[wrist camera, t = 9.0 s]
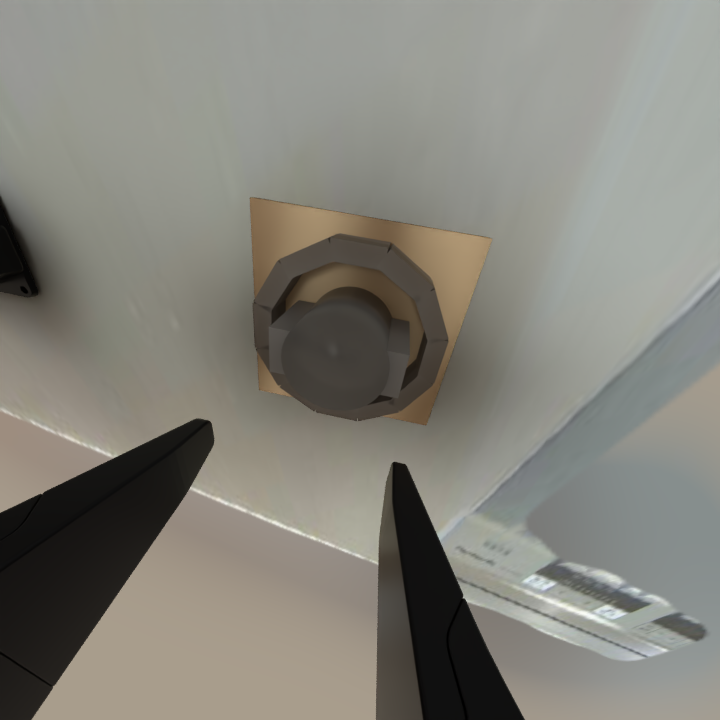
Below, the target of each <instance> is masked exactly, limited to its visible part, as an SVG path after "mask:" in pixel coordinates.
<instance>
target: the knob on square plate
mask: <svg viewBox="0 0 720 720" xmlns="http://www.w3.org/2000/svg"><path fill="white" fill-rule="evenodd" d="M250 211H251V232H252V253H253V273H254V294H255V299H254V303H253V319H254V338H255V347H256V348H257V349H256V351H257V356H258V377H259V390H261V391H266V392H271V393H276V394H280V395H285V396H290V397H294V398H295V399H297V400H298V401H300V402H301V403H303V404H304V405H306V406H307V407H308V408H310V409H311V410H313V411H315V410H316V412H317V413H322V414H327V415H331V416H336V417H341V418H345V419H350V420H355V421H357V419H358V421H361V420H365V419H370V418H375V417H380V416H384V417H389V418H394V419H398V420H403V421H408V422H412V423H417V424H422V425H427V422H428V419H429V416H430V413H431V411H432V408H433V405H434V402H435V399H436V396H437V394H438V391H439V388H440V385H441V382H442V380H443V377H444V374H445V371H446V368H447V365H448V363H449V360H450V357H451V354H452V351H453V349H454V346H455V343H456V340H457V337H458V334H459V332H460V329H461V326H462V323H463V320H464V318H465V315H466V312H467V309H468V306H469V303H470V301H471V298H472V295H473V292H474V289H475V286H476V284H477V281H478V278H479V275H480V272H481V270H482V267H483V264H484V261H485V258H486V255H487V253H488V250H489V247H490V244H491V241H492V239H491V238H488V237H482V236H476V235H471V234H465V233H459V232H453V231H447V230H441V229H436V228H430V227H424V226H418V225H412V224H406V223H401V222H395V221H389V220H383V219H377V218H371V217H366V216H360V215H354V214H348V213H342V212H336V211H331V210H325V209H319V208H313V207H307V206H301V205H295V204H290V203H284V202H278V201H272V200H266V199H260V198H250ZM346 286H352V287H359V288H362V289H365V290H368V291H370V292H371V293H373V294H375V295H376V296H377V297H379V298H380V299H381V300H382V301H383V302H384V304H385V305H386V306H387V308H388V309H389V311H390V314H391V316H392V318H394V319H399V320H404V321H409V325H410V357H409V360H408V364H407V368H406V371H405V375H404V379H403V382H402V386H401V390H400V393H399V397H398V398H393V397H389V396H384V395H379V396H378V397H377V398H376V399H375V400H374V401H372V402H371V403H369V404H368V405H366V406H363V407H361V408H358V409H354V410H345V411H340V410H331V409H326V408H323V407H320V406H317V405H315V404H313V403H311V402H310V401H308V400H306V399H305V398H304V397H302V396H301V395H300V394H299V393H298V392H297V391H296V390H295V389H294V388H293V387H292V386H291V384H290V383H289V381H288V380H287V378H286V376H285V375H284V374H279V373H274V372H270V365H269V326H270V325H272V324H273V323H274V322H275V321H276V320H277V319H278V318H279V317H280V316H282V315H283V314H284V313H285V312H286V311H287V310H288V309H289V308H290V307H292V306H293V305H294V304H295V303H296V302H297V301H298V300H301V301H306V302H311V303H316V302H317V301H318V300H319V299H320V298H321V297H322V296H323V295H324V294H326V293H327V292H329V291H331V290H333V289H336V288H339V287H346Z"/></svg>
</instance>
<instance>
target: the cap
mask: <svg viewBox="0 0 720 720" xmlns="http://www.w3.org/2000/svg"><path fill="white" fill-rule="evenodd" d="M409 357H410V325H409V321H404V320H399V319H394V318H392V316H391V314H390V311H389V309H388V308H387V306H386V305H385V304H384V302H383V301H382V300H381V299H380V298H379V297H377V296H376V295H375V294H373V293H371V292H370V291H368V290H365V289H362V288H359V287H352V286H346V287H339V288H336V289H333V290H331V291H329V292H327V293H326V294H324V295H323V296H322V297H321V298H320V299H319V300H318V301H317V302H316V303H311V302H306V301H301V300H298V301H297V302H296V303H295V304H294V305H293V306H292V307H290V308H289V309H288V310H287V311H286V312H285V313H284V314H283V315H282V316H280V317H279V318H278V319H277V320H276V321H275V322H274V323H273V324H272V325H270V326H269V365H270V372H274V373H279V374H284V375H285V376H286V378H287V380H288V381H289V383H290V384H291V386H292V387H293V388H294V389H295V390H296V391H297V392H298V393H299V394H300V395H301V396H302V397H304V398H305V399H306V400H308V401H310V402H311V403H313V404H315V405H317V406H320V407H323V408H326V409H331V410H340V411H345V410H354V409H358V408H361V407H363V406H366V405H368V404H369V403H371V402H372V401H374V400H375V399H376V398H377V397H378V396H379V395H384V396H389V397H393V398H398V397H399V393H400V390H401V386H402V382H403V379H404V375H405V371H406V368H407V364H408V360H409Z"/></svg>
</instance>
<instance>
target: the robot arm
mask: <svg viewBox="0 0 720 720" xmlns="http://www.w3.org/2000/svg"><path fill="white" fill-rule="evenodd" d="M0 292H4V293H9V294H14V295H19V296H24V297H33V296H37V295H38V289H37V287H36V285H35V282H34V280H33V278H32V276H31V273H30V271H29V269H28V267H27V264H26V262H25V260H24V258H23V255H22V253H21V251H20V249H19V246H18V244H17V242H16V240H15V237H14V235H13V233H12V231H11V229H10V226H9V224H8V222H7V220H6V217H5V215H4V213H3V211H2V208H1V206H0ZM213 445H214V434H213V428H212V423H211V422H210V421H208V420H204V419H199V418H198V419H194V420H192V421H190V422H188V423H186V424H184V425H182V426H180V427H178V428H175V429H173V430H171V431H169V432H167V433H165V434H163V435H161V436H159V437H157V438H155V439H153V440H151V441H149V442H147V443H144V444H142V445H140V446H138V447H136V448H134V449H132V450H130V451H128V452H126V453H124V454H122V455H120V456H118V457H116V458H113V459H111V460H110V461H107V462H105V463H103V464H101V465H99V466H97V467H95V468H93V469H91V470H89V471H87V472H85V473H82V474H80V475H78V476H76V477H74V478H72V479H70V480H68V481H66V482H64V483H62V484H60V485H58V486H56V487H53V488H51V489H49V490H47V491H45V492H44V493H43V494H39V495H37V496H35V497H33V498H31V499H28V500H26V501H24V502H22V503H20V504H18V505H16V506H14V507H12V508H10V509H8V510H5V511H3V512H1V513H0V720H31V719H32V718H33V717H34V715H35V714H36V712H37V711H38V709H39V708H40V706H41V705H42V703H43V702H44V701H45V699H46V698H47V696H48V695H49V693H50V691H51V690H52V689H53V686H54V685H55V684H56V683H57V681H58V680H59V678H60V677H61V676H62V674H63V673H64V671H65V670H66V668H67V667H68V665H69V664H70V662H71V661H72V660H73V658H74V657H75V655H76V654H77V652H78V651H79V649H80V648H81V646H82V645H83V644H84V642H85V641H86V639H87V638H88V636H89V635H90V633H91V632H92V630H93V629H94V628H95V626H96V625H97V623H98V622H99V620H100V619H101V617H102V616H103V614H104V613H105V611H106V610H107V609H108V607H109V606H110V604H111V603H112V601H113V600H114V598H115V597H116V596H117V594H118V593H119V591H120V590H121V588H122V587H123V585H124V584H125V583H126V581H127V580H128V578H129V577H130V575H131V574H132V572H133V571H134V570H135V568H136V567H137V565H138V564H139V562H140V561H141V559H142V558H143V556H144V555H145V553H146V552H147V551H148V549H149V548H150V546H151V545H152V543H153V542H154V540H155V539H156V537H157V536H158V535H159V533H160V532H161V530H162V529H163V527H164V526H165V524H166V523H167V521H168V520H169V519H170V517H171V516H172V514H173V513H174V511H175V510H176V509H177V507H178V506H179V504H180V503H181V501H182V500H183V498H184V497H185V495H186V493H187V492H188V490H189V489H190V487H191V485H192V483H193V482H194V480H195V478H196V476H197V474H198V473H199V471H200V469H201V467H202V465H203V463H204V462H205V460H206V458H207V456H208V454H209V453H210V451H211V449H212V447H213ZM378 568H379V569H378V628H377V689H376V720H525V719H524V717H523V716H522V714H521V712H520V710H519V708H518V706H517V704H516V702H515V700H514V699H513V697H512V695H511V693H510V691H509V689H508V687H507V686H506V684H505V681H504V679H503V678H502V676H501V674H500V672H499V670H498V668H497V666H496V664H495V662H494V660H493V658H492V656H491V654H490V652H489V650H488V648H487V646H486V644H485V642H484V639H483V637H482V635H481V633H480V631H479V629H478V627H477V624H476V622H475V620H474V618H473V615H472V613H471V611H470V609H469V606H468V604H467V602H466V600H465V599H464V598H463V593H462V591H461V588H460V586H459V584H458V581H457V579H456V577H455V575H454V572H453V570H452V568H451V566H450V563H449V561H448V559H447V556H446V554H445V552H444V550H443V547H442V545H441V543H440V540H439V538H438V536H437V534H436V531H435V529H434V527H433V524H432V522H431V520H430V518H429V515H428V513H427V511H426V509H425V506H424V504H423V502H422V499H421V497H420V495H419V493H418V490H417V488H416V486H415V483H414V481H413V479H412V477H411V474H410V472H409V470H408V468H407V466H406V465H405V464H402V463H398V462H393V463H392V464H391V467H390V471H389V474H388V477H387V481H386V487H385V495H384V503H383V511H382V519H381V527H380V536H379V566H378ZM462 598H463V599H462Z"/></svg>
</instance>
